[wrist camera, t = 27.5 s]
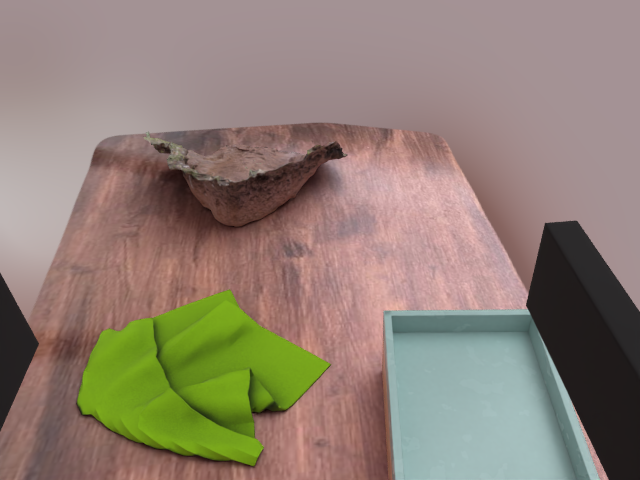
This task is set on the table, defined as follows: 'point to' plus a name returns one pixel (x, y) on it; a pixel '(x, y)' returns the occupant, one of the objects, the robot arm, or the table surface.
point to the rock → (245, 177)
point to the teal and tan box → (476, 400)
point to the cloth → (195, 379)
